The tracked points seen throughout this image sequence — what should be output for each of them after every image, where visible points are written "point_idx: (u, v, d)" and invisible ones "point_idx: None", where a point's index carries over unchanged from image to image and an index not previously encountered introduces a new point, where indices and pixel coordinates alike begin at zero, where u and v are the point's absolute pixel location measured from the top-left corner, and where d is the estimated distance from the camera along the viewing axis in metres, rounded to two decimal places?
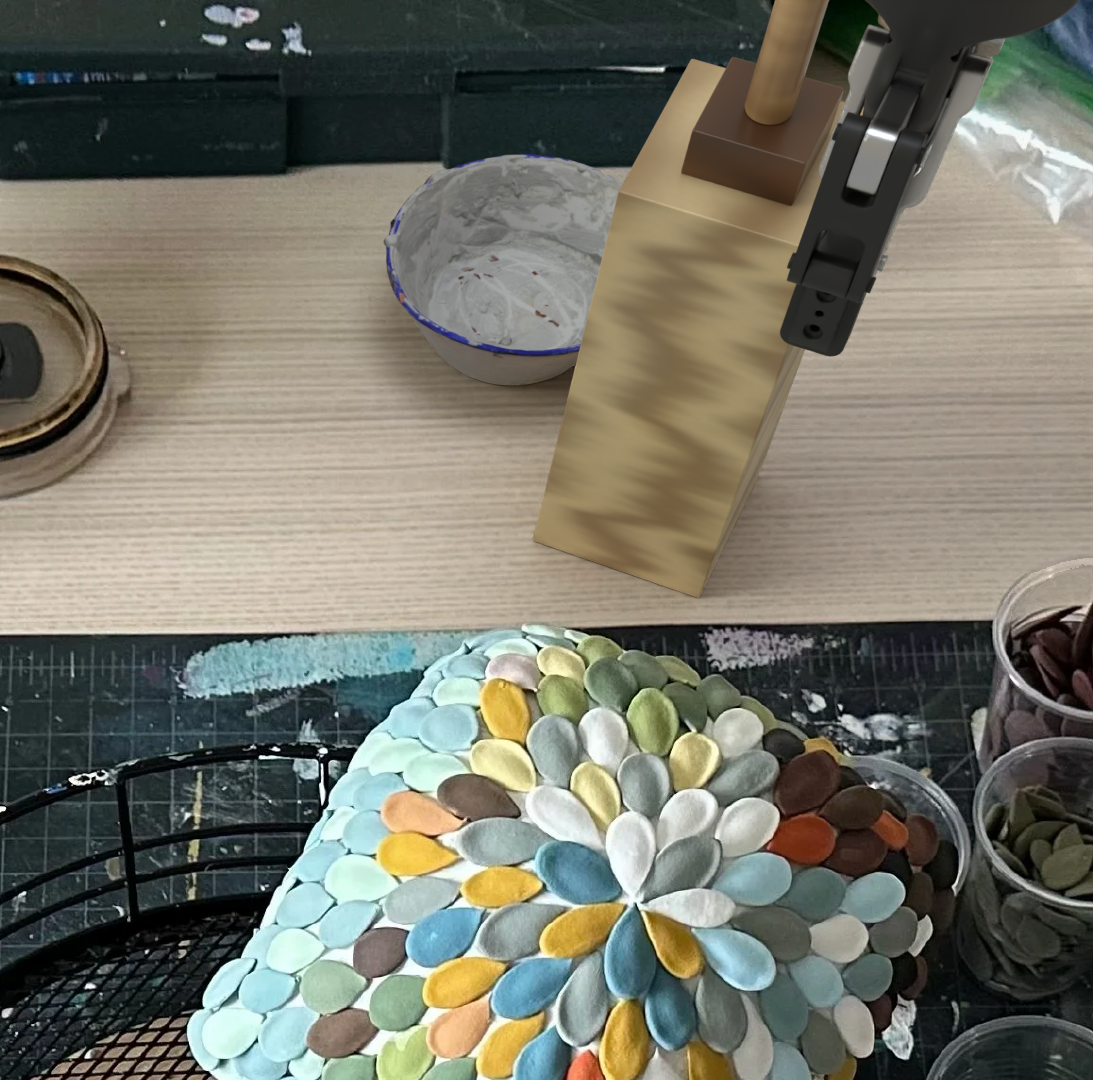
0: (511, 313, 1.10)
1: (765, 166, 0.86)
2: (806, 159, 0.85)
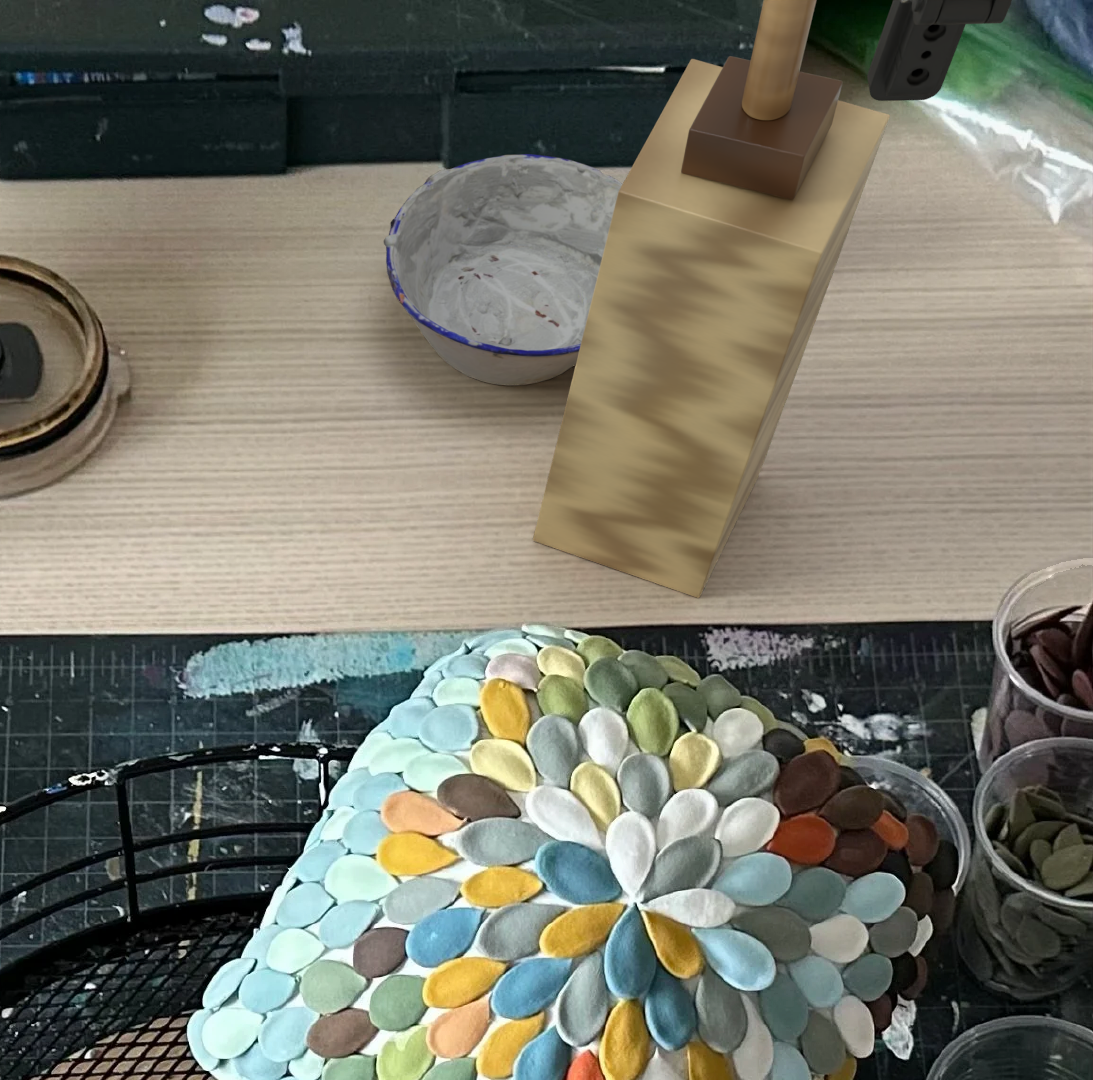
0: (511, 313, 1.10)
1: (764, 161, 0.85)
2: (805, 151, 0.85)
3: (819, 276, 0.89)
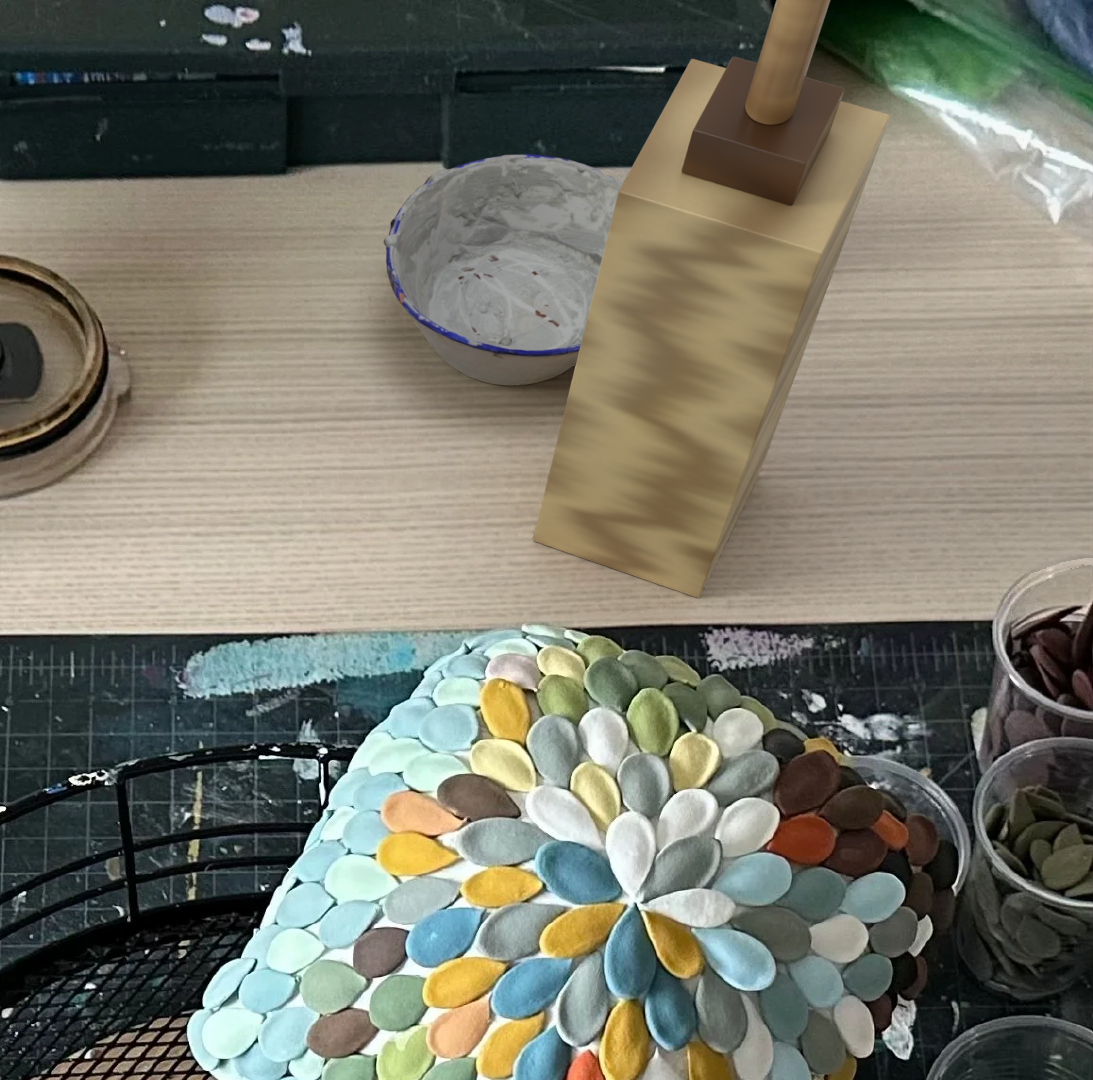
0: (511, 313, 1.10)
1: (765, 166, 0.86)
2: (807, 159, 0.85)
3: (819, 276, 0.89)
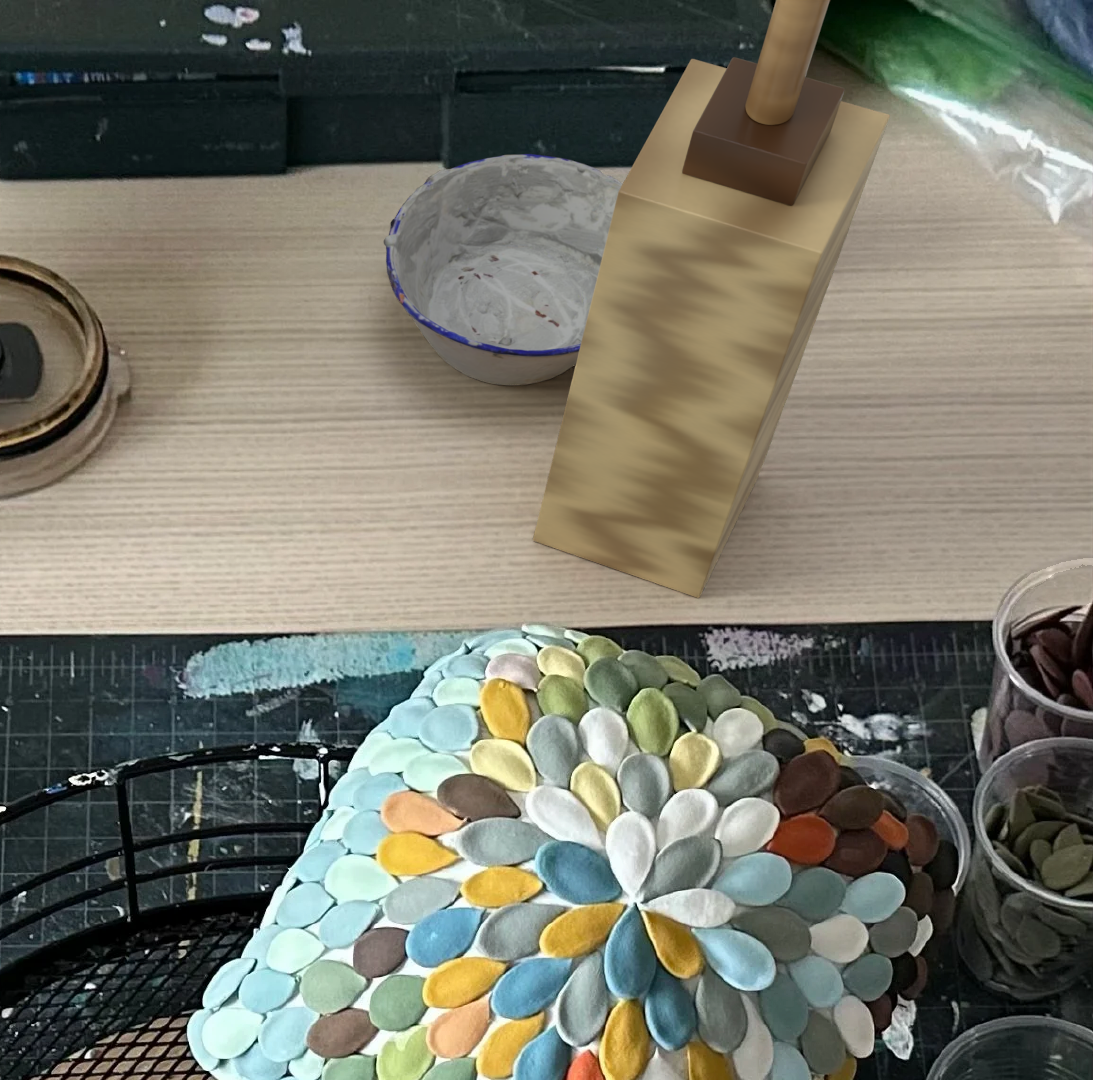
0: (511, 313, 1.10)
1: (766, 166, 0.86)
2: (807, 159, 0.85)
3: (819, 276, 0.89)
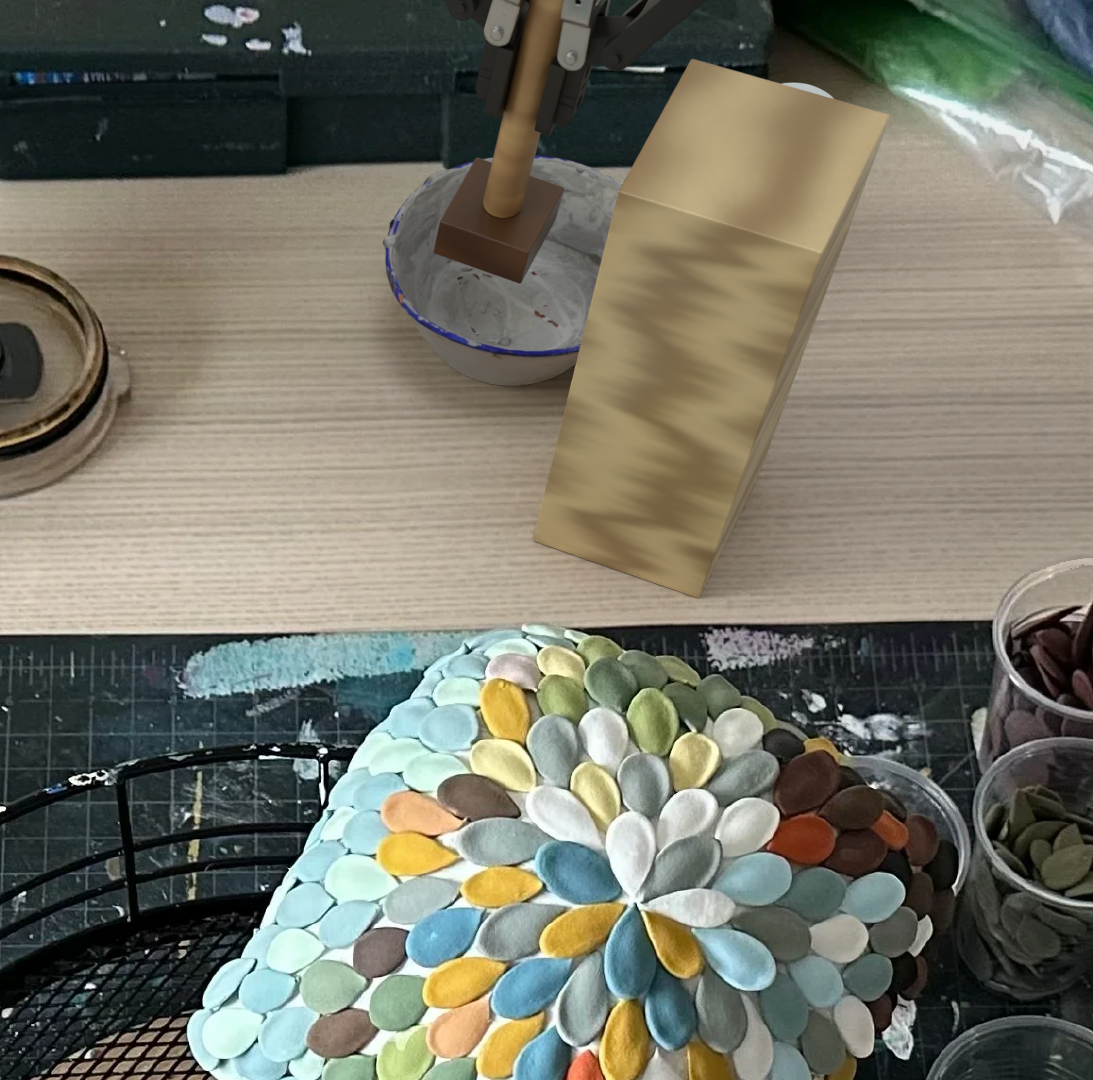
0: (510, 313, 1.10)
1: (497, 252, 1.05)
2: (530, 248, 1.04)
3: (819, 276, 0.89)
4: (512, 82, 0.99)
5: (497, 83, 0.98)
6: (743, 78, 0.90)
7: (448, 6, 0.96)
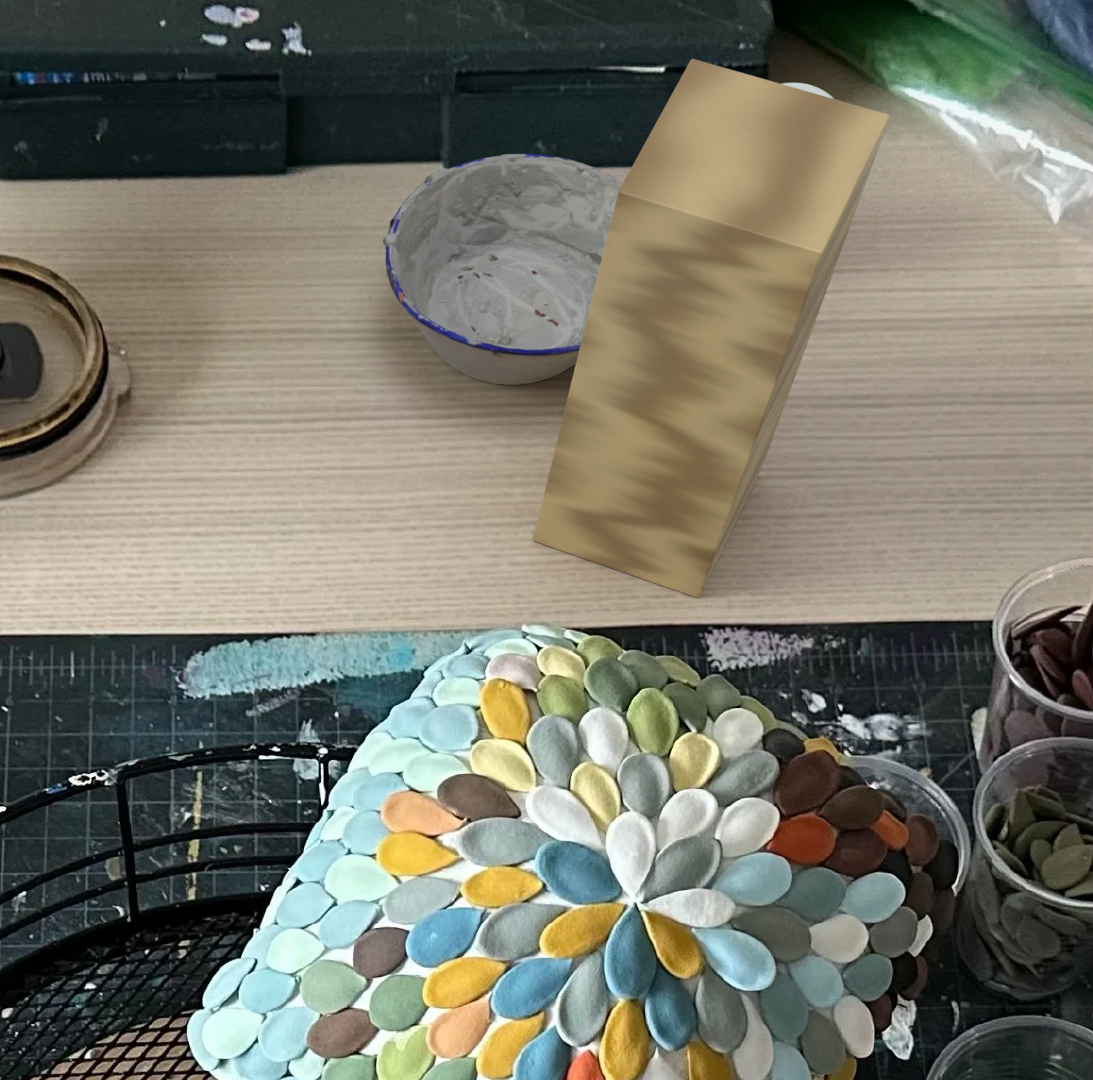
0: (510, 312, 1.10)
1: None
2: None
3: (819, 276, 0.89)
4: None
5: None
6: (743, 78, 0.90)
7: None
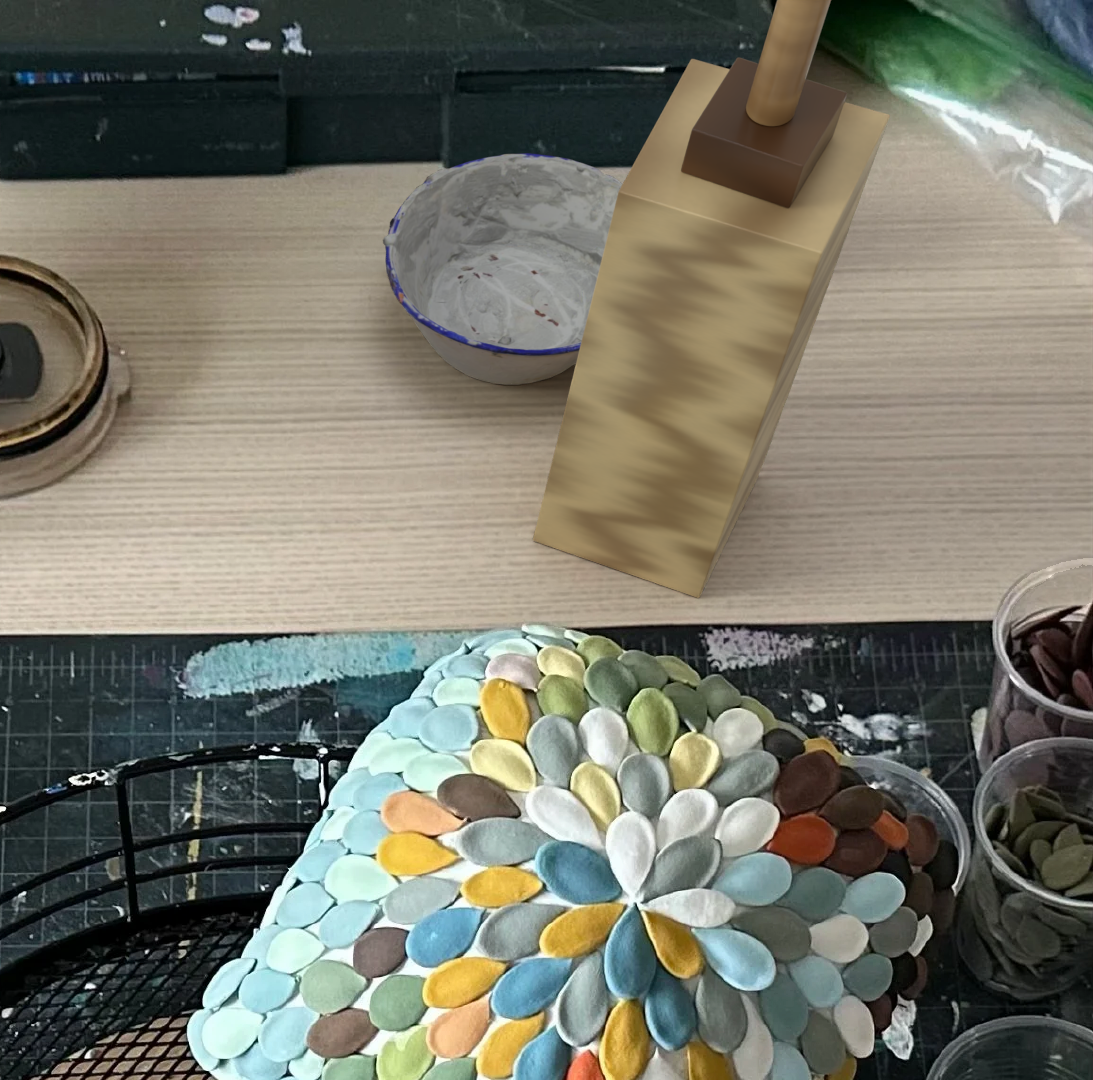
0: (510, 312, 1.10)
1: (763, 167, 0.85)
2: (804, 161, 0.85)
3: (819, 276, 0.89)
4: None
5: None
6: None
7: None
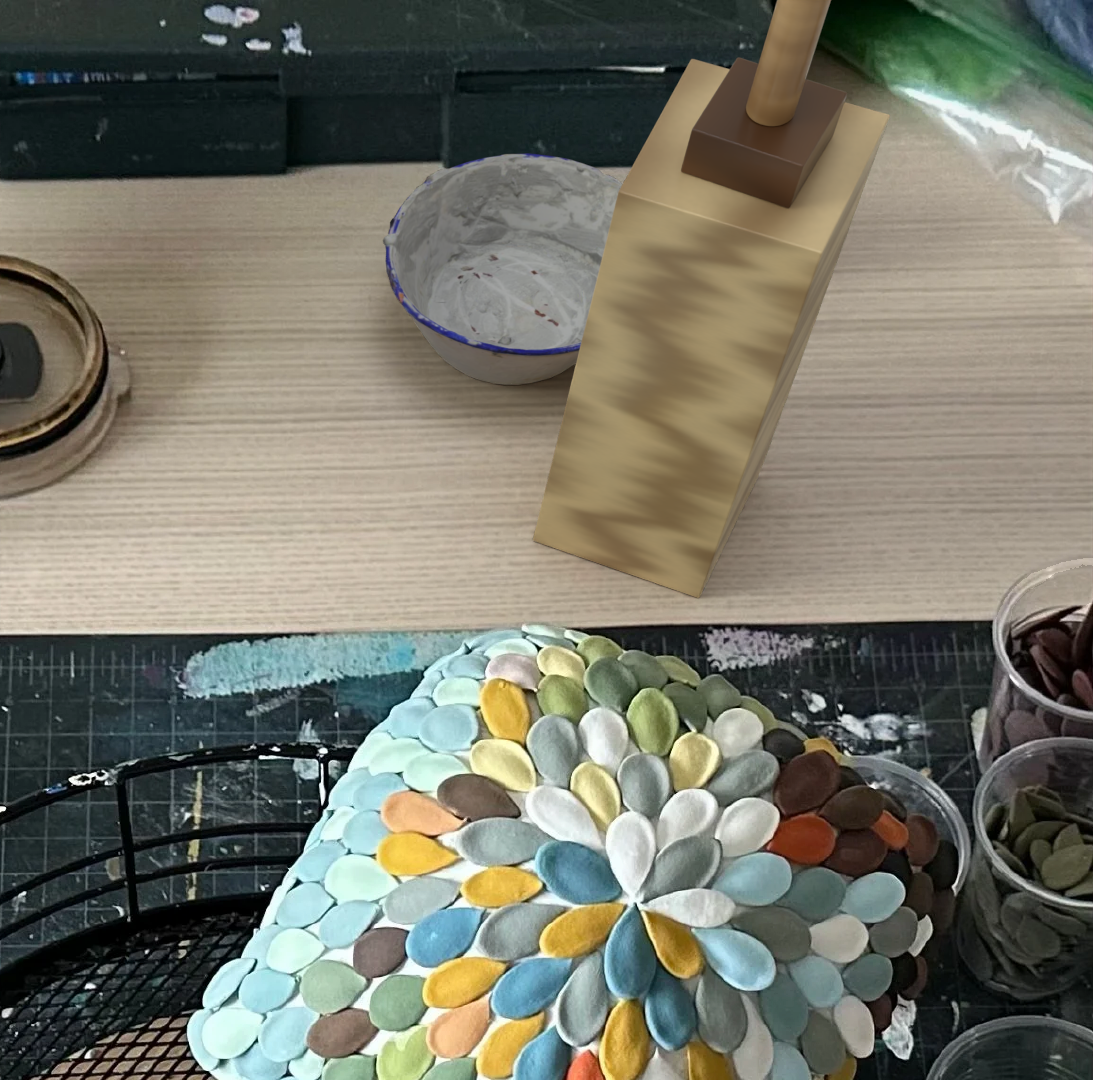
0: (510, 312, 1.10)
1: (763, 167, 0.85)
2: (804, 161, 0.85)
3: (819, 276, 0.89)
4: None
5: None
6: None
7: None
